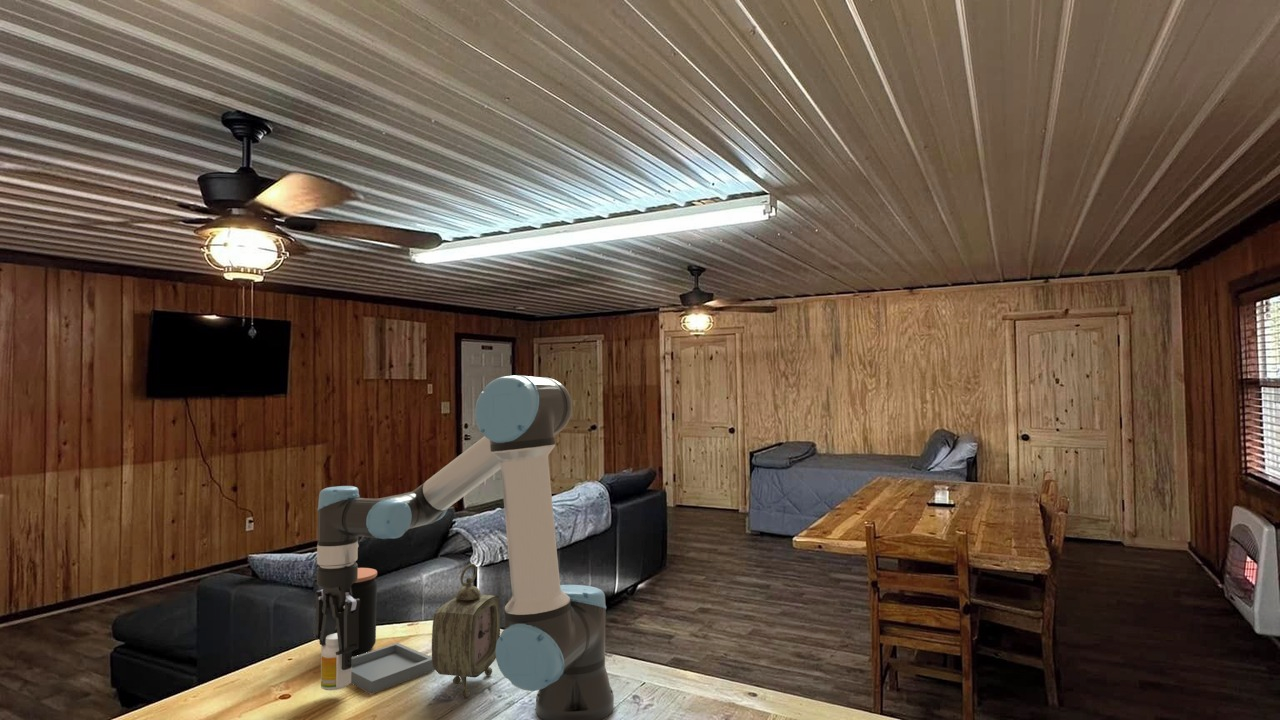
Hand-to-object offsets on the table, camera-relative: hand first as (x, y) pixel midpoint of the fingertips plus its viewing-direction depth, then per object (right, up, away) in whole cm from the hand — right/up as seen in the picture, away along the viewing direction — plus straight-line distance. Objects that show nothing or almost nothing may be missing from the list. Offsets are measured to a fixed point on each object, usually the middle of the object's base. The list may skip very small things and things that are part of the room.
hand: (335, 680), depth 132 cm
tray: (+5, -4, +12) cm, 14 cm away
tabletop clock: (+25, -4, +6) cm, 25 cm away
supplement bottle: (0, -1, 0) cm, 1 cm away
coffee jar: (-8, -5, +25) cm, 26 cm away
